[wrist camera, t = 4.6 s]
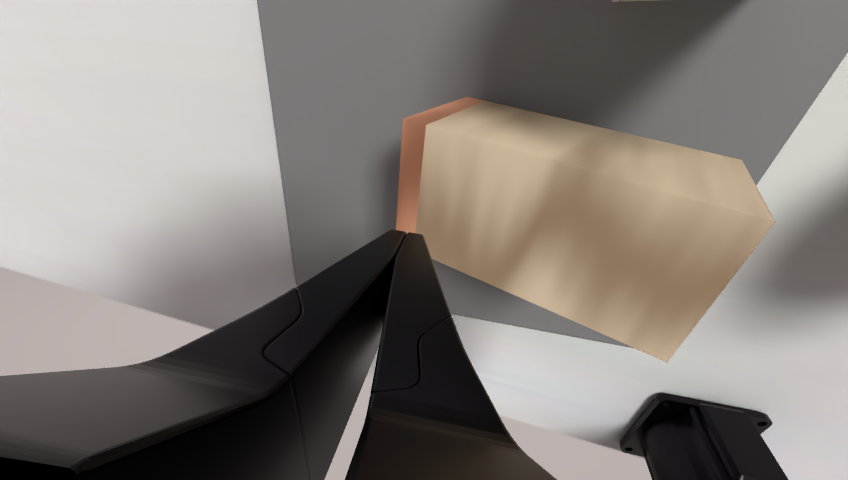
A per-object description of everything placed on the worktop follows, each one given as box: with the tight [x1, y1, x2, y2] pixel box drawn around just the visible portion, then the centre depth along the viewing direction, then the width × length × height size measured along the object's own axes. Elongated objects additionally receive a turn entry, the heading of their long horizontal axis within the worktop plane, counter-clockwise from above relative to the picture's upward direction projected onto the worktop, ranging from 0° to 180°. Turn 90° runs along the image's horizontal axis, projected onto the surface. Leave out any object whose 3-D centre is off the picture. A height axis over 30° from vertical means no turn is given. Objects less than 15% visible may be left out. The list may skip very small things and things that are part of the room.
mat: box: [257, 0, 848, 348], centre depth 15 cm, size 20×20×1 cm
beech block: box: [396, 97, 775, 362], centre depth 12 cm, size 4×4×9 cm
